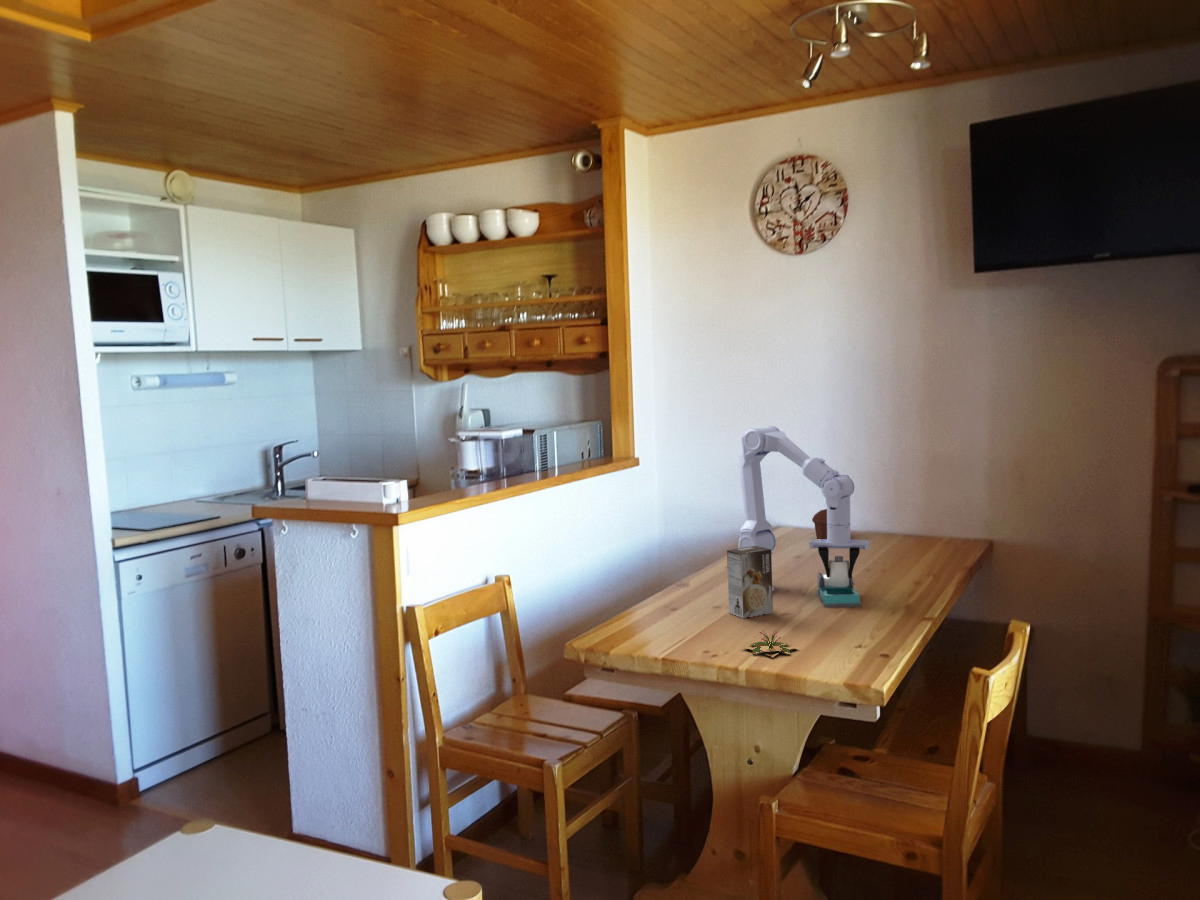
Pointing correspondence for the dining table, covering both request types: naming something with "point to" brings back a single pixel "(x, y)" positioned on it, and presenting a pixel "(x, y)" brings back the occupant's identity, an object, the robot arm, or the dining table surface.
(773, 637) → the lily flower
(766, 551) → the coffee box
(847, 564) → the white capped bottle
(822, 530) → the muffin
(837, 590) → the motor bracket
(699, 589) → the dining table surface
